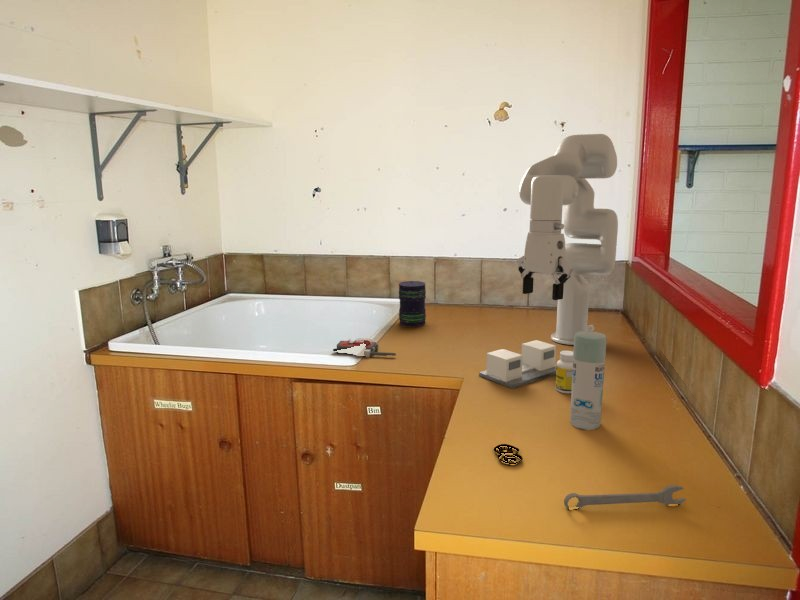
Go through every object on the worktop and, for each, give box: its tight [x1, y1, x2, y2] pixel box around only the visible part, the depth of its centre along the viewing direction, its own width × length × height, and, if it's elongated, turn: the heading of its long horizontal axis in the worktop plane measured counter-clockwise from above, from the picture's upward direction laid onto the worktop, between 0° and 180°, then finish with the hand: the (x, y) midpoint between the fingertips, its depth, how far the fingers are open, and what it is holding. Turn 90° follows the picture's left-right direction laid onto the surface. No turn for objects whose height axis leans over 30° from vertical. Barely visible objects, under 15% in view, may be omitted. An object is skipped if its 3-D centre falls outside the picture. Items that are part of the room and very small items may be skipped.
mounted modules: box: [485, 339, 557, 382], centre depth 154 cm, size 20×7×6 cm, turn 126°
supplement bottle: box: [555, 350, 574, 394], centre depth 142 cm, size 5×5×10 cm
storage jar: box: [398, 280, 427, 327], centre depth 207 cm, size 10×10×15 cm
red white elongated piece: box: [332, 337, 397, 358], centre depth 174 cm, size 9×4×20 cm
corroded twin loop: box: [493, 443, 524, 464], centre depth 110 cm, size 5×8×1 cm, turn 2°
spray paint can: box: [569, 331, 608, 431], centre depth 121 cm, size 6×6×20 cm
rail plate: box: [478, 364, 557, 389], centre depth 154 cm, size 20×12×2 cm, turn 126°
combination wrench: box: [563, 484, 687, 510], centre depth 92 cm, size 4×1×20 cm
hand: (542, 296), depth 142 cm, fingers open, 9 cm apart
